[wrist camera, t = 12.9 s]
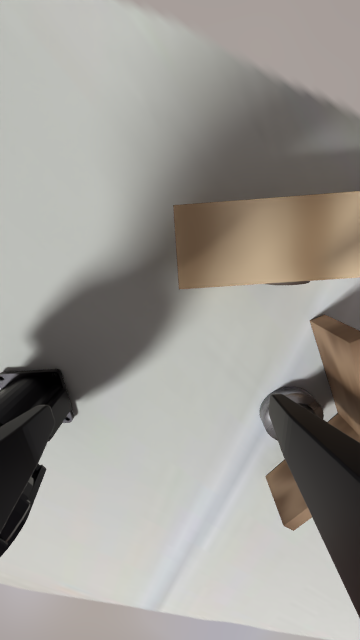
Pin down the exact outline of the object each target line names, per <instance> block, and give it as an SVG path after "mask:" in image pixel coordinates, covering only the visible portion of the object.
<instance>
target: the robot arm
mask: <svg viewBox="0 0 360 640" xmlns="http://www.w3.org/2000/svg"><path fill="white" fill-rule="evenodd" d="M55 374H57V375H55ZM0 388H1V390H0V557H1V556H2V555H3V553H4V552H5V551H6V550H7V549H8V547H9V546H10V545H11V544H12V542H13V541H14V540H15V538H16V537H17V535H18V534H19V532H20V531H21V529H22V527H23V525H24V524H25V522H26V520H27V518H28V515H29V513H30V510H31V508H32V505H33V502H34V500H35V497H36V495H37V492H38V490H39V487H40V484H41V482H42V479H43V477H44V474H45V472H46V468H45V467H44V466H43V465H39V464H38V462H39V460H40V458H41V455H42V453H43V451H44V449H45V446H46V444H47V442H48V441H50V440H51V438H52V437H53V436H54V434H55V433H56V431H57V430H58V428H59V427H60V425H61V424H62V423H69V422H71V421H72V420H73V418H74V415H73V412H72V406H71V403H70V399H69V396H68V392H67V389H66V387H65V383H64V380H63V376H62V373H61V371H60V370H58V369H51V370H33V371H15V372H2V373H0ZM269 416H270V419H271V422H272V425H273V428H274V430H275V433H276V436H277V439H278V442H279V445H280V447H281V450H282V453H283V456H284V458H285V460H286V462H287V464H288V467H289V469H290V471H291V473H292V475H293V477H294V479H295V482H296V484H297V486H298V488H299V490H300V492H301V494H302V496H303V499H304V501H305V503H306V505H307V507H308V509H309V511H310V513H311V516H312V518H313V520H314V522H315V524H316V526H317V528H318V530H319V533H320V535H321V537H322V539H323V541H324V543H325V545H326V547H327V550H328V552H329V554H330V556H331V558H332V560H333V562H334V564H335V567H336V569H337V571H338V573H339V575H340V577H341V579H342V581H343V584H344V586H345V588H346V590H347V592H348V594H349V596H350V598H351V601H352V603H353V605H354V607H355V609H356V611H357V613H358V615H359V618H360V443H359V442H358V441H356V440H355V439H353V438H351V437H350V436H348V435H347V434H345V433H343V432H342V431H340V430H339V429H337V428H336V427H334V426H332V425H331V424H329V423H328V422H326V421H324V420H323V419H321V418H320V417H318V416H316V415H315V414H313V413H312V412H310V411H309V410H307V409H305V408H304V407H302V406H301V405H299V404H297V403H296V402H294V401H293V400H291V399H289V398H288V397H286V396H285V395H283V394H280V393H279V394H271V395H270V401H269Z"/></svg>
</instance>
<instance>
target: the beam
mask: <svg viewBox="0 0 360 640" xmlns="http://www.w3.org/2000/svg"><path fill="white" fill-rule="evenodd" d="M173 208H174V223H175V237H176V252H177V266H178V281H179V289H190V288H205V287H220V286H236V285H251V284H270V285H299V284H306V283H309V282H310V281H312V280H327V279H342V278H358V277H360V191H354V192H341V193H328V194H315V195H302V196H289V197H276V198H262V199H249V200H236V201H223V202H210V203H197V204H184V205H173Z"/></svg>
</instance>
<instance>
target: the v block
mask: <svg viewBox="0 0 360 640" xmlns="http://www.w3.org/2000/svg"><path fill="white" fill-rule="evenodd" d="M310 323H311V326H312V329H313V333H314V336H315V339H316V343H317V346H318V349H319V352H320V356H321V359H322V362H323V365H324V369H325V372H326V375H327V378H328V382H329V385H330V388H331V392H332V395H333V398H334V401H335V405H336V408H337V411H338V414H337V415H335V416H334V417H333V418H332V419H331V420H330V421H329V422H328V423H329V424H331V425H332V426H334V427H336V428H337V429H339V430H340V431H342V432H343V433H345V434H347V435H348V436H350V437H351V438H353V439H355V440H356V441H358V442H359V443H360V331H359V330H357V329H355V328H352V327H350V326H348V325H346V324H344V323H342V322H339V321H337V320H335V319H333V318H331V317H329V316H327V315H323V316H320V317H318V318H315V319H313V320H311V321H310ZM266 479H267V482H268V485H269V487H270V490H271V493H272V496H273V498H274V501H275V504H276V506H277V509H278V512H279V514H280V517H281V520H282V523H283V525H284V526H285V527H287V528H289V529H291V530H293V531H294V530H295V529H297V528H298V527H299V526H301V525H302V524H303V523H305V522H306V521H308V520H309V519H310V518H312V516H311V513H310V511H309V509H308V507H307V505H306V503H305V501H304V499H303V496H302V494H301V492H300V490H299V488H298V486H297V484H296V482H295V479H294V477H293V475H292V473H291V471H290V469H289V467H288V464H287V462H286V460H284V461H283V462H282V463H281V464H279V465H278V466H277V467H276V468H275V469H274V470H273V471H271V472H270V473H269V474H268V475H267V476H266Z"/></svg>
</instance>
